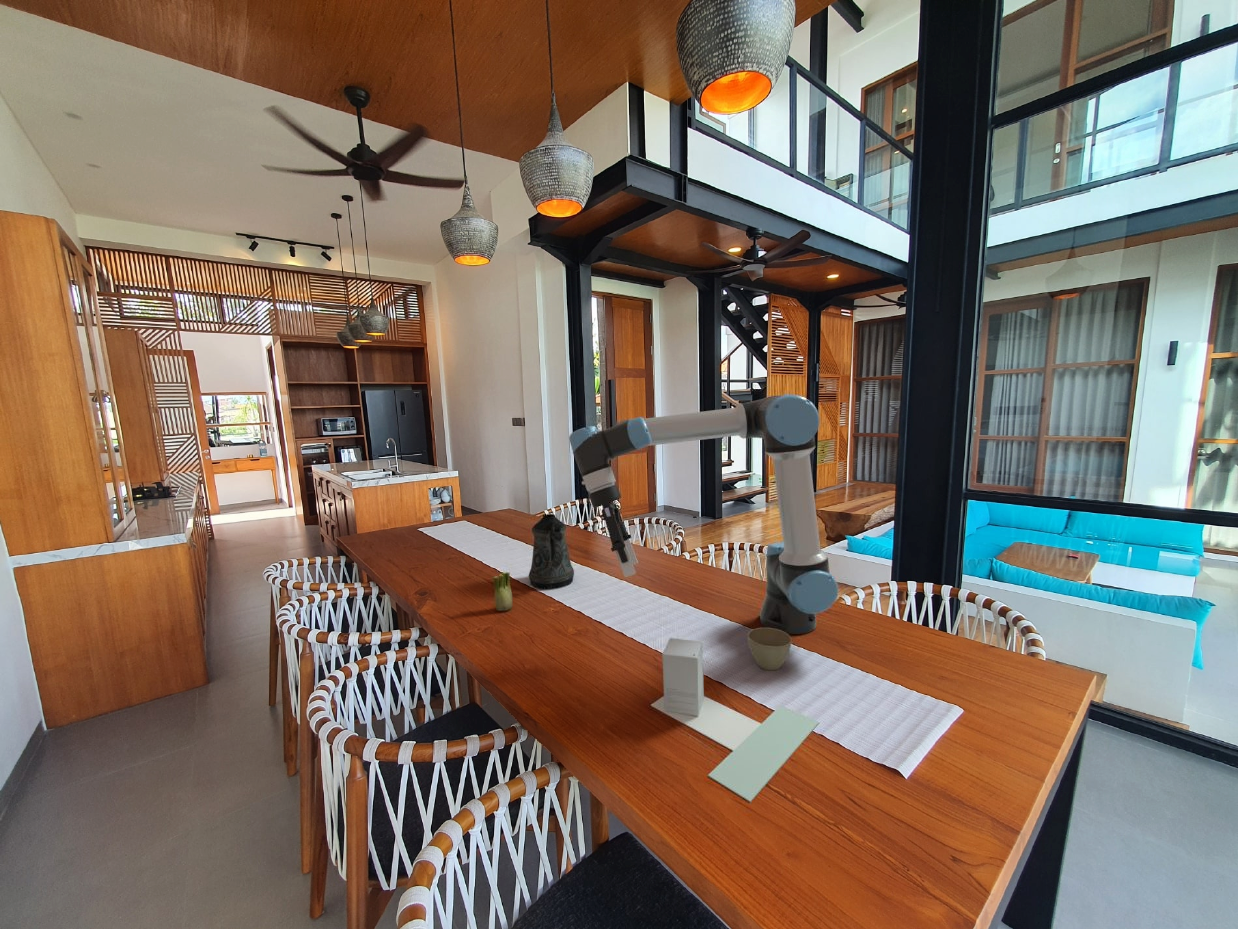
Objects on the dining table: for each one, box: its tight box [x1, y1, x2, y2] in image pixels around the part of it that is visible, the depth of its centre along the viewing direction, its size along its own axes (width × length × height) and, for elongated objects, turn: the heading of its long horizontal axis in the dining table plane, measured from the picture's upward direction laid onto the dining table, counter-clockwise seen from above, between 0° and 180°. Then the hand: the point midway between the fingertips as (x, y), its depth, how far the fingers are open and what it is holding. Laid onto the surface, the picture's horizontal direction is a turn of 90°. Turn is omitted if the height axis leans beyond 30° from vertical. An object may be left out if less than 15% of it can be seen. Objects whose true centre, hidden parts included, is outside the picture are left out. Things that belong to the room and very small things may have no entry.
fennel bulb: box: [493, 571, 513, 612], centre depth 152 cm, size 6×5×12 cm
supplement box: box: [661, 637, 705, 716], centre depth 101 cm, size 7×7×13 cm
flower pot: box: [747, 627, 793, 671], centre depth 115 cm, size 10×10×7 cm
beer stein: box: [528, 513, 575, 591], centre depth 174 cm, size 16×19×25 cm
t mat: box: [650, 695, 820, 803], centre depth 95 cm, size 28×26×1 cm
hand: (631, 570), depth 118 cm, fingers open, 13 cm apart
